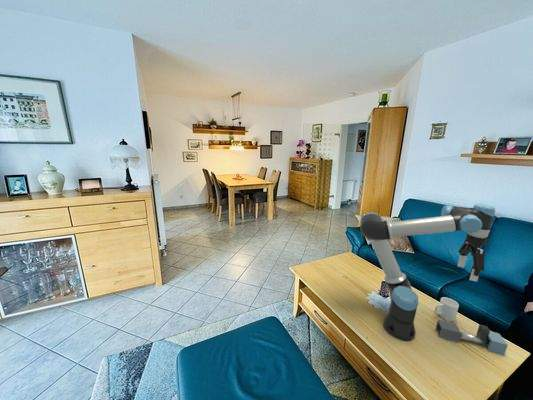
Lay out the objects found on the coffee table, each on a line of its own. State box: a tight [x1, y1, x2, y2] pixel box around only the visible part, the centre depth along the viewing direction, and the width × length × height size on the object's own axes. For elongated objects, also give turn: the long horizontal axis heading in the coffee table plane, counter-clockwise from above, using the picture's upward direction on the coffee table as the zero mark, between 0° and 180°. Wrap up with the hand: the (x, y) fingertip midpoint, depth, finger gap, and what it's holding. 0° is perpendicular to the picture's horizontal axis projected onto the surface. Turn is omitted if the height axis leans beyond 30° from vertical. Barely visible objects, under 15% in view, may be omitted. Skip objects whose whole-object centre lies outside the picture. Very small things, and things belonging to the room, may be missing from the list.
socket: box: [487, 330, 509, 356], centre depth 110 cm, size 6×7×6 cm
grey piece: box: [460, 324, 491, 346], centre depth 112 cm, size 15×3×9 cm, turn 69°
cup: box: [434, 296, 460, 322], centre depth 129 cm, size 8×12×10 cm
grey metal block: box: [435, 319, 462, 344], centre depth 116 cm, size 8×6×6 cm
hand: (466, 273), depth 113 cm, fingers open, 13 cm apart
